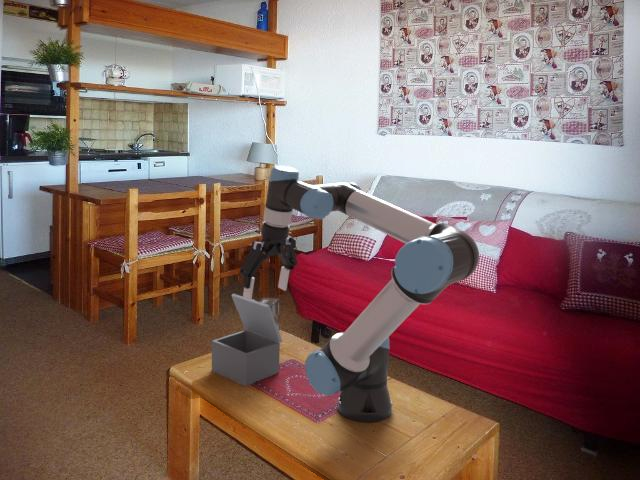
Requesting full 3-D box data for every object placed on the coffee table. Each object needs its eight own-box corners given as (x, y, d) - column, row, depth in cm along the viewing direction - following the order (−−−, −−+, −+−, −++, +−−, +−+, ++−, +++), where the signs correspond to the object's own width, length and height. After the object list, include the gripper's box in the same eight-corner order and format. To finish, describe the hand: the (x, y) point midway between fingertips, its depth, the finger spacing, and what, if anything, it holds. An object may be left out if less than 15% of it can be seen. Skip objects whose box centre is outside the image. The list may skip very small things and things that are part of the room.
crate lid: (280, 343, 192) (282, 340, 192) (267, 307, 184) (269, 304, 185) (245, 329, 202) (247, 327, 203) (231, 295, 195) (233, 293, 196)
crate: (278, 373, 194) (279, 343, 192) (245, 386, 183) (246, 354, 181) (245, 358, 204) (245, 330, 202) (211, 370, 194) (211, 340, 192)
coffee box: (262, 339, 222) (263, 296, 219) (279, 341, 221) (280, 298, 217) (254, 348, 213) (255, 304, 210) (272, 350, 212) (273, 306, 209)
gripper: (298, 214, 178) (286, 280, 185) (232, 223, 160) (222, 296, 167) (317, 222, 174) (304, 290, 181) (251, 232, 155) (240, 307, 162)
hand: (265, 293), depth 174 cm, fingers open, 13 cm apart
